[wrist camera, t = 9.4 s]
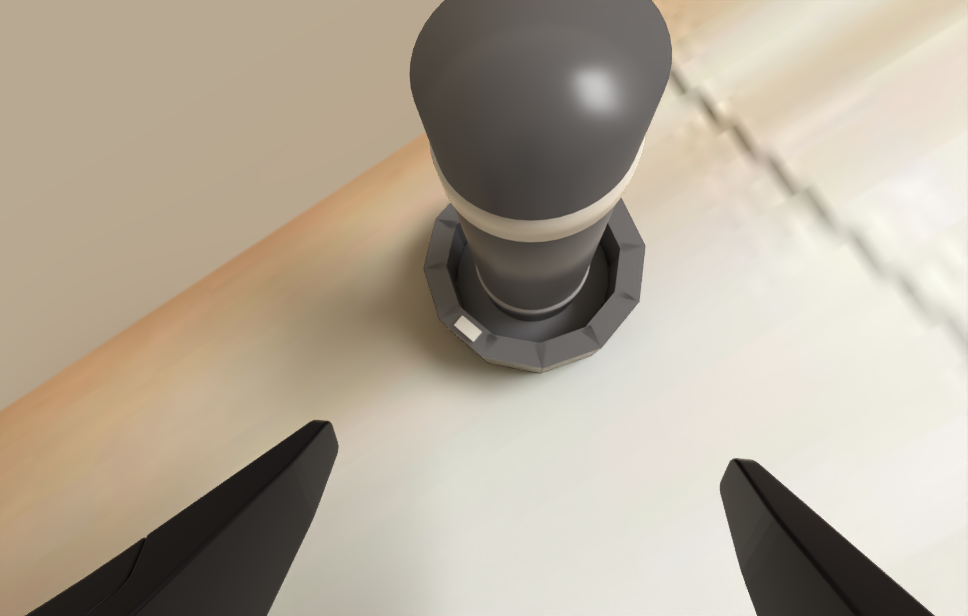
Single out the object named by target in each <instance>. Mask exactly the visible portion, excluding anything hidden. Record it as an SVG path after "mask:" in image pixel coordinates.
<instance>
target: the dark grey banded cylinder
mask: <svg viewBox="0 0 968 616" xmlns="http://www.w3.org/2000/svg"><path fill="white" fill-rule="evenodd" d="M671 64H672V47H671V40H670V34H669V31H668V28H667V25H666V22H665V20H664V19H663V17H662V15H661V13H660V11H659V9H658V8H657V7H656V5H655V4H654V3H653V1H652V0H445V1H443V2H442V3H441V4H440V6H439V7H438V8H437V9H436V10H435V11H434V12H433V13H432V15H431V16H430V18H429V19H428V20H427V22H426V23H425V25H424V27H423V28H422V30H421V32H420V34H419V36H418V38H417V41H416V43H415V46H414V48H413V53H412V58H411V63H410V83H411V90H412V94H413V98H414V102H415V104H416V107H417V110H418V112H419V115H420V118H421V120H422V123H423V125H424V128H425V131H426V133H427V136H428V139H429V141H430V150H431V155H432V159H433V163H434V166H435V168H436V171H437V173H438V176H439V178H440V181H441V183H442V186H443V188H444V191H445V193H446V195H447V197H448V199H449V200H450V202H451V203H452V205H453V206H454V208H455V210H456V213H457V216H458V218H459V221H460V223H461V226H462V229H463V231H464V234H465V237H466V239H467V242H468V245H469V247H470V250H471V253H472V255H473V258H474V261H475V264H476V270H477V274H478V277H479V280H480V282H481V284H482V287H483V289H484V290H485V292H486V293H487V295H488V296H489V298H490V300H491V301H492V302H493V304H494V305H495V306H496V307H497V308H498V309H499V310H500V311H502V312H503V313H505V314H506V315H508V316H510V317H512V318H515V319H518V320H522V321H541V320H545V319H549V318H551V317H554V316H556V315H558V314H559V313H561V312H562V311H564V310H565V309H566V308H567V307H568V306H569V305H570V304H571V303H572V301H573V300H574V299H575V297H576V296H577V294H578V293H579V291H580V290H581V288H582V286H583V284H584V282H585V280H586V278H587V275H588V272H589V268H590V263H591V260H592V258H593V256H594V253H595V251H596V249H597V246H598V244H599V242H600V239H601V237H602V235H603V232H604V230H605V228H606V225H607V223H608V221H609V218H610V216H611V214H612V211H613V209H614V207H615V205H616V203H617V202H618V201H619V199H620V198H621V197H622V195H623V193H624V191H625V190H626V188H627V186H628V184H629V182H630V180H631V177H632V175H633V173H634V171H635V168H636V166H637V164H638V162H639V159H640V156H641V154H642V151H643V148H644V143H645V138H646V132H647V130H648V127H649V125H650V123H651V120H652V118H653V116H654V113H655V111H656V109H657V106H658V104H659V102H660V99H661V97H662V95H663V92H664V90H665V87H666V84H667V82H668V79H669V74H670V69H671Z"/></svg>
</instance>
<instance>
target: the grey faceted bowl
mask: <svg viewBox="0 0 968 616" xmlns="http://www.w3.org/2000/svg"><path fill="white" fill-rule="evenodd" d="M464 246H465V247H464ZM644 255H645V244H644V242H643V240H642V238H641V236H640V234H639V232H638V230H637V228H636V226H635V224H634V222H633V220H632V218H631V216H630V214H629V212H628V210H627V208H626V206H625V204H624V202H623V200H622V198H620V199H619V201H618V202H617V203H616V205H615V207H614V209H613V211H612V214H611V216H610V218H609V221H608V223H607V225H606V228H605V230H604V232H603V235H602V237H601V239H600V242H599V244H598V246H597V249H596V251H595V253H594V256H593V258H592V260H591V263H590V268H589V272H588V275H587V278H586V280H585V282H584V284H583V286H582V288H581V290H580V291H579V293H578V294H577V296H576V297H575V299H574V300H573V301H572V303H571V304H570V305H569V306H568V307H567V308H566V309H565V310H564V311H562V312H561V313H559V314H558V315H556V316H554V317H551V318H549V319H545V320H541V321H522V320H518V319H515V318H512V317H510V316H508V315H506V314H505V313H503V312H502V311H500V310H499V309H498V308H497V307H496V306H495V305H494V304H493V302H492V301H491V300H490V298H489V296H488V295H487V293H486V292H485V290H484V289H483V287H482V284H481V282H480V280H479V277H478V274H477V270H476V264H475V261H474V258H473V255H472V253H471V250H470V247H469V245H468V242H467V239H466V237H465V234H464V231H463V229H462V226H461V223H460V221H459V218H458V216H457V213H456V210H455V208H454V206H453V205H452V203H450V204H449V205H448V206H447V207H446V208H445V209H444V210H443V211H442V212H441V214H440V215H439V216H438V217H437V218H436V220H435V224H434V228H433V232H432V236H431V240H430V244H429V248H428V252H427V256H426V260H425V265H424V272H425V275H426V278H427V281H428V285H429V288H430V291H431V294H432V297H433V301H434V304H435V307H436V310H437V314H438V317H439V319H440V321H441V322H443V323H444V324H445V325H446V326H447V327H448V328H449V329H450V330H451V331H452V332H453V333H454V334H455V335H457V336H458V337H459V338H460V339H461V340H462V341H463V342H465V343H466V344H467V345H468V346H469V347H470V348H471V349H473V350H474V351H475V352H476V353H477V354H478V355H479V356H481V357H482V358H483V359H484V360H485V361H486V362H487V363H490V364H495V365H500V366H506V367H511V368H516V369H521V370H527V371H532V372H537V373H543V372H546V371H549V370H552V369H555V368H557V367H560V366H563V365H566V364H569V363H572V362H575V361H577V360H580V359H583V358H586V357H589V356H592V355H593V354H594V353H596V352H597V351H598V350H599V349H601V348H602V347H603V345H604V344H605V343H606V342H607V341H608V339H609V338H610V337H611V336H612V334H613V333H614V332H615V331H616V330H617V328H618V327H619V326H620V325H621V323H622V322H623V321H624V320H625V319H626V317H627V316H628V315H629V314H630V313H631V311H632V310H633V309H634V308H635V306H636V305H637V304H638V303H639V300H640V291H641V282H642V273H643V264H644ZM607 263H608V264H607ZM608 265H609V274H608ZM456 280H457V281H458V287H457V284H456ZM605 296H606V297H605ZM604 298H605V304H604V305H603V306H602V304H603V301H604ZM601 306H602V308H601V309H600V307H601ZM464 307H465V308H464ZM465 309H466V311H467V312H468V313H467V312H466V311H465ZM599 309H600V310H599Z"/></svg>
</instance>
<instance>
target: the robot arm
mask: <svg viewBox="0 0 968 616" xmlns="http://www.w3.org/2000/svg"><path fill="white" fill-rule="evenodd" d="M337 453H338V441H337V438H336V435H335V432H334V429H333V426H332V423H331V422H329V421H324V420H313V421H311V422H309V423H308V424H306V425H305V426H303V427H302V428H300V429H299V430H298V431H296V432H295V433H293V434H292V435H290V436H289V437H288V438H286V439H285V440H283V441H282V442H280V443H279V444H277V445H276V446H275V447H273V448H272V449H270V450H269V451H267V452H266V453H265V454H263V455H262V456H260V457H259V458H257V459H256V460H254V461H253V462H252V463H250V464H249V465H247V466H246V467H244V468H243V469H242V470H240V471H239V472H237V473H236V474H234V475H233V476H231V477H230V478H229V479H227V480H226V481H224V482H223V483H221V484H220V485H219V486H217V487H216V488H214V489H213V490H211V491H210V492H208V493H207V494H206V495H204V496H203V497H201V498H200V499H198V500H197V501H196V502H194V503H193V504H191V505H190V506H188V507H187V508H186V509H184V510H183V511H181V512H180V513H178V514H177V515H175V516H174V517H173V518H171V519H170V520H168V521H167V522H165V523H164V524H163V525H161V526H160V527H158V528H157V529H155V530H154V531H152V532H151V533H150V534H148V535H147V537H146V538H142V539H141V540H139V541H138V542H136V543H135V544H134V545H132V546H131V547H129V548H128V549H126V550H125V551H124V552H122V553H121V554H119V555H118V556H116V557H115V558H113V559H112V560H110V561H109V562H107V563H106V564H104V565H103V566H101V567H100V568H98V569H97V570H95V571H94V572H93V573H91V574H90V575H88V576H87V577H85V578H84V579H82V580H80V581H79V582H77V583H76V584H74V585H73V586H71V587H69V588H68V589H66V590H65V591H63V592H62V593H60V594H59V595H57V596H55V597H54V598H52V599H51V600H49V601H48V602H46V603H44V604H43V605H41V606H40V607H38V608H36V609H35V610H33V611H32V612H30V613H28V614H27V615H25V616H267V614H268V612H269V610H270V608H271V606H272V604H273V602H274V600H275V598H276V596H277V593H278V591H279V589H280V587H281V585H282V583H283V581H284V579H285V577H286V575H287V573H288V571H289V568H290V566H291V564H292V562H293V560H294V558H295V556H296V554H297V552H298V550H299V548H300V546H301V543H302V541H303V539H304V537H305V535H306V533H307V531H308V529H309V527H310V525H311V522H312V520H313V518H314V516H315V513H316V511H317V508H318V505H319V503H320V500H321V497H322V495H323V492H324V489H325V486H326V484H327V481H328V478H329V475H330V473H331V470H332V467H333V464H334V462H335V459H336V456H337ZM720 494H721V498H722V501H723V505H724V509H725V513H726V517H727V521H728V524H729V528H730V532H731V536H732V540H733V544H734V547H735V551H736V555H737V559H738V562H739V566H740V569H741V572H742V575H743V578H744V581H745V584H746V587H747V589H748V592H749V595H750V598H751V600H752V603H753V606H754V608H755V611H756V614H757V616H935V615H933V614H932V613H931V612H930V611H929V610H928V609H926V608H925V607H924V606H923V605H922V604H921V603H920V602H918V601H917V600H916V599H915V598H914V597H913V596H911V595H910V594H909V593H908V592H907V591H906V590H905V589H903V588H902V587H901V586H900V585H899V584H898V583H896V582H895V581H894V580H893V579H892V578H891V577H889V576H888V575H887V574H886V573H885V572H884V571H883V570H881V569H880V568H879V567H878V566H877V565H876V564H874V563H873V562H872V561H871V560H870V559H869V558H868V557H866V556H865V555H864V554H863V553H862V552H861V551H859V550H858V549H857V548H856V547H855V546H854V545H852V544H851V543H850V542H849V541H848V540H847V539H846V538H844V537H843V536H842V535H841V534H840V533H839V532H837V531H836V530H835V529H834V528H833V527H832V526H831V525H829V524H828V523H827V522H826V521H825V520H824V519H822V518H821V517H820V516H819V515H818V514H817V513H815V512H814V511H813V510H812V509H811V508H810V507H809V506H807V505H806V504H805V503H804V502H803V501H802V500H800V499H799V498H798V497H797V496H796V495H795V494H794V493H792V492H791V491H790V490H789V489H788V488H787V487H785V486H784V485H783V484H782V483H781V482H780V481H778V480H777V479H776V478H775V477H774V476H773V475H772V474H770V473H769V472H768V471H767V470H766V469H765V468H763V467H762V466H761V465H760V464H759V463H757V462H756V461H754V460H750V459H739V458H734V459H732V460H730V462H729V464H728V466H727V469H726V471H725V473H724V475H723V477H722V480H721V482H720Z"/></svg>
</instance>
